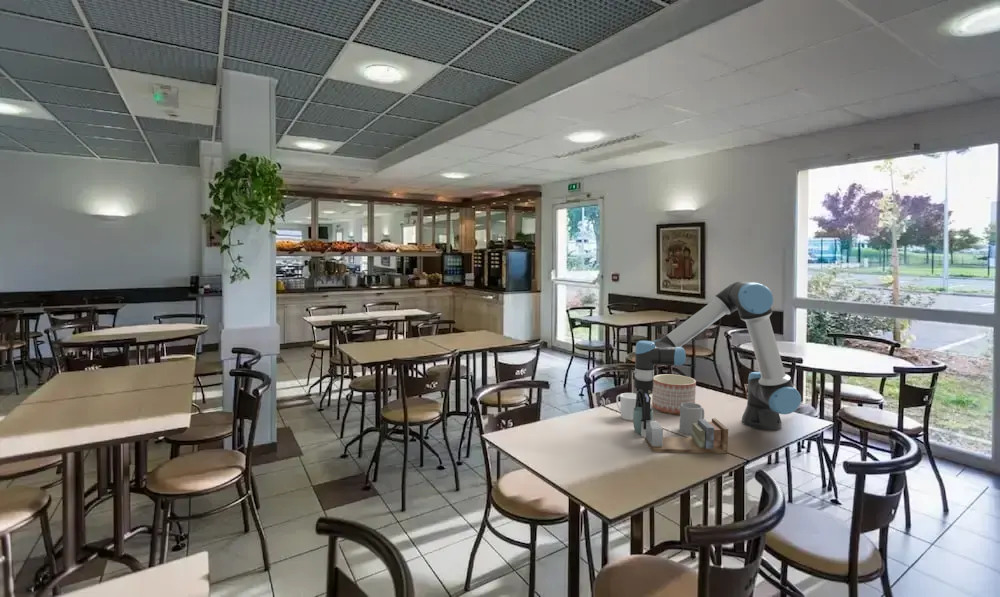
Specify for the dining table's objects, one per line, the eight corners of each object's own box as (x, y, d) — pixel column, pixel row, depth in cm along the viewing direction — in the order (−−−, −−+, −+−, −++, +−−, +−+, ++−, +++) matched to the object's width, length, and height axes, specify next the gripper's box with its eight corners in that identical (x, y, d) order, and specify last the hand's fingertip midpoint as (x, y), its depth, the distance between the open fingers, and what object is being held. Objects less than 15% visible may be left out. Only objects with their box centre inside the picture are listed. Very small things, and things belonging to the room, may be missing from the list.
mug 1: (642, 416, 223) (643, 394, 222) (636, 422, 215) (637, 399, 214) (619, 412, 229) (619, 391, 228) (612, 418, 221) (613, 395, 220)
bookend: (655, 437, 194) (656, 420, 193) (662, 446, 185) (663, 428, 184) (645, 437, 194) (646, 420, 193) (651, 446, 185) (652, 428, 184)
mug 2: (691, 436, 199) (692, 409, 198) (674, 429, 207) (675, 404, 206) (711, 431, 205) (712, 405, 204) (694, 424, 213) (695, 400, 212)
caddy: (714, 440, 194) (715, 418, 194) (727, 453, 182) (728, 429, 182) (644, 439, 196) (645, 417, 195) (652, 452, 184) (653, 428, 183)
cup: (649, 437, 198) (650, 413, 197) (630, 434, 202) (631, 410, 201) (654, 431, 204) (655, 408, 203) (636, 428, 208) (636, 405, 207)
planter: (691, 405, 240) (692, 375, 239) (697, 417, 221) (699, 385, 220) (650, 402, 244) (651, 373, 243) (653, 414, 226) (654, 383, 224)
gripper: (629, 372, 211) (627, 423, 213) (640, 385, 191) (638, 441, 193) (646, 372, 211) (644, 423, 213) (660, 385, 190) (658, 442, 192)
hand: (641, 432), depth 203 cm, fingers closed on cup, 8 cm apart
